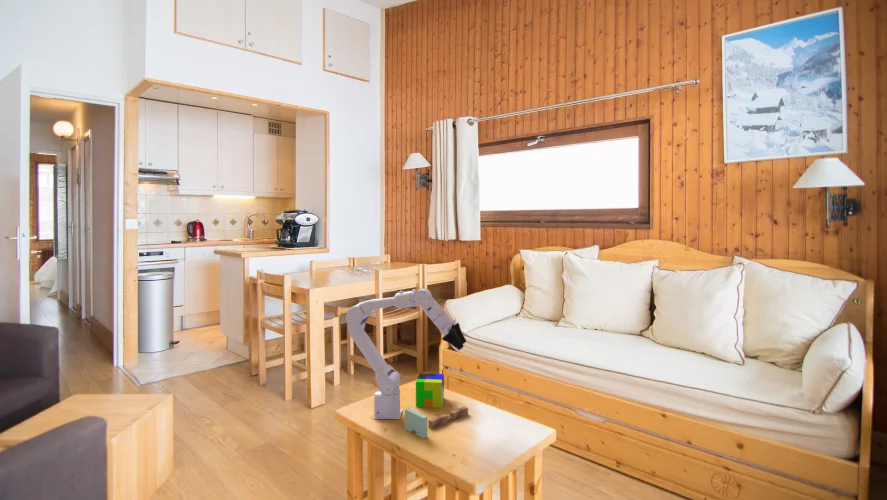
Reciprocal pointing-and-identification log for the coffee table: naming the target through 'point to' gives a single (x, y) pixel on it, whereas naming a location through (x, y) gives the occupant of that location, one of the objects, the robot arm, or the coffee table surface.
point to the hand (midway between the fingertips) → (462, 345)
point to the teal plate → (416, 422)
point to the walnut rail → (447, 417)
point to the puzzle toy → (429, 390)
